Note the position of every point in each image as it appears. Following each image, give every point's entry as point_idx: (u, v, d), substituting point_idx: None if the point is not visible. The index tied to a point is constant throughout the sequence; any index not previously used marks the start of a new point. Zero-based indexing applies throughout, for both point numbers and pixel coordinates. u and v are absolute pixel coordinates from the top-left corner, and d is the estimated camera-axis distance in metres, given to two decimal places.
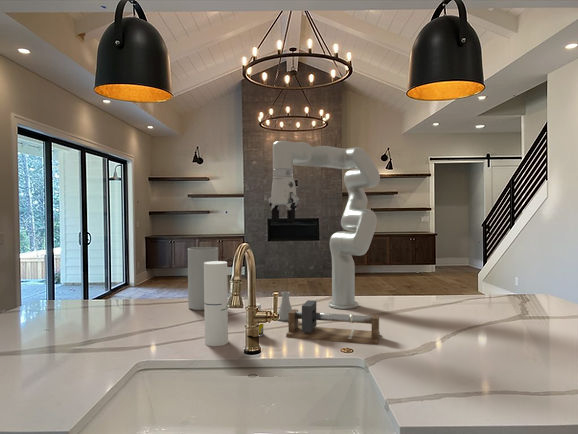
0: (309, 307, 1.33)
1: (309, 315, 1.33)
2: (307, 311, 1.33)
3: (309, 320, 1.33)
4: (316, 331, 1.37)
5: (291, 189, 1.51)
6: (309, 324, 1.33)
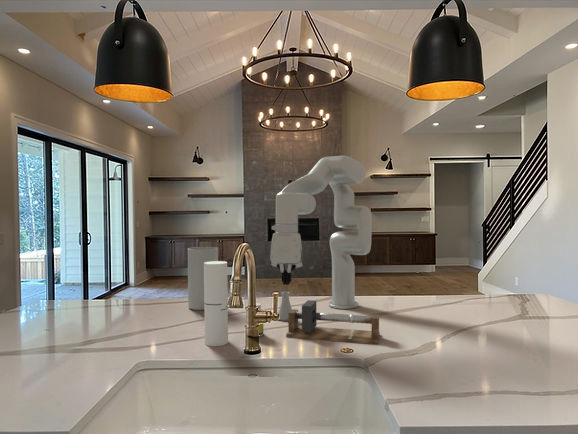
0: (309, 307, 1.33)
1: (309, 315, 1.33)
2: (307, 311, 1.33)
3: (309, 320, 1.33)
4: (316, 331, 1.37)
5: None
6: (309, 324, 1.33)
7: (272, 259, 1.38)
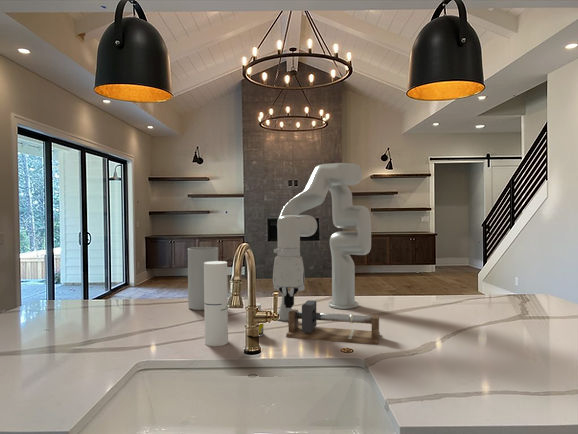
0: (309, 307, 1.33)
1: (309, 315, 1.33)
2: (307, 311, 1.33)
3: (309, 320, 1.33)
4: (316, 331, 1.37)
5: None
6: (309, 324, 1.33)
7: (274, 283, 1.38)
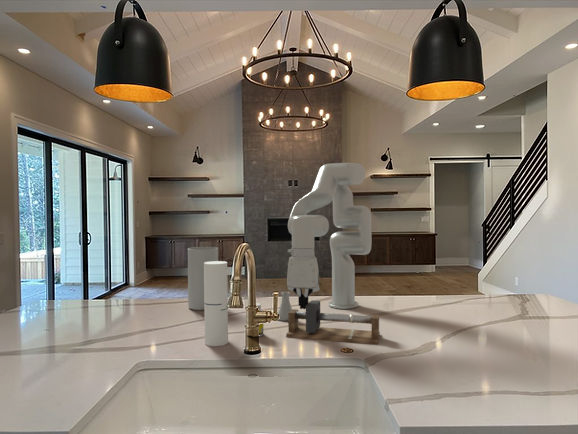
0: (313, 307, 1.33)
1: (313, 315, 1.33)
2: (311, 311, 1.33)
3: (313, 320, 1.33)
4: (316, 331, 1.37)
5: None
6: (313, 324, 1.33)
7: (289, 283, 1.37)
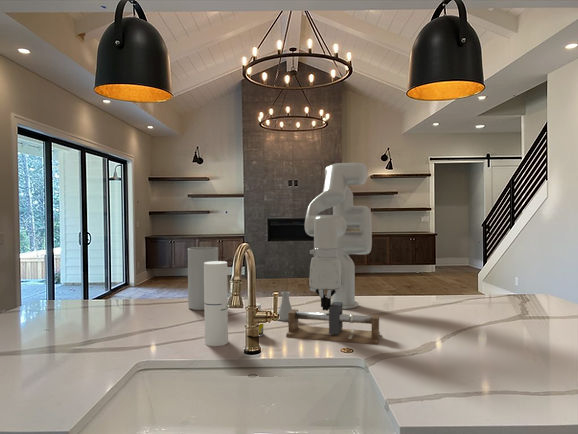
0: (337, 309, 1.31)
1: (336, 317, 1.31)
2: (334, 313, 1.31)
3: (336, 322, 1.31)
4: (316, 331, 1.37)
5: None
6: (336, 326, 1.31)
7: (311, 284, 1.34)
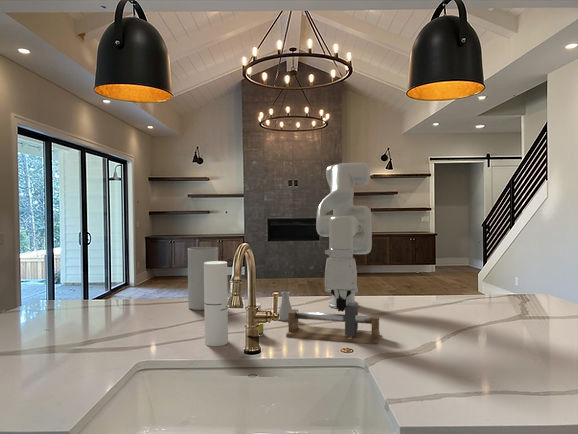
0: (353, 310, 1.29)
1: (353, 318, 1.29)
2: (350, 314, 1.30)
3: (353, 323, 1.29)
4: (316, 331, 1.37)
5: None
6: (353, 327, 1.30)
7: (327, 285, 1.33)
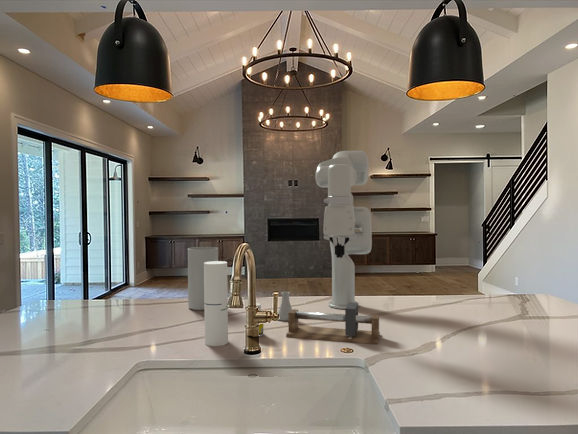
0: (353, 310, 1.29)
1: (353, 318, 1.29)
2: (351, 314, 1.30)
3: (353, 323, 1.29)
4: (316, 331, 1.37)
5: None
6: (353, 327, 1.29)
7: (325, 232, 1.36)
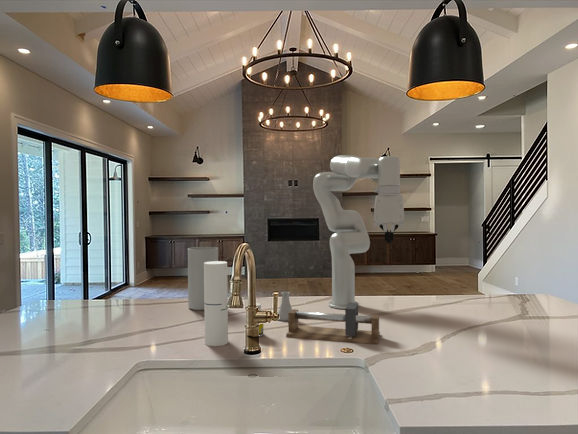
0: (353, 310, 1.29)
1: (353, 318, 1.29)
2: (351, 314, 1.30)
3: (353, 323, 1.29)
4: (316, 331, 1.37)
5: None
6: (353, 327, 1.29)
7: (376, 219, 1.46)
